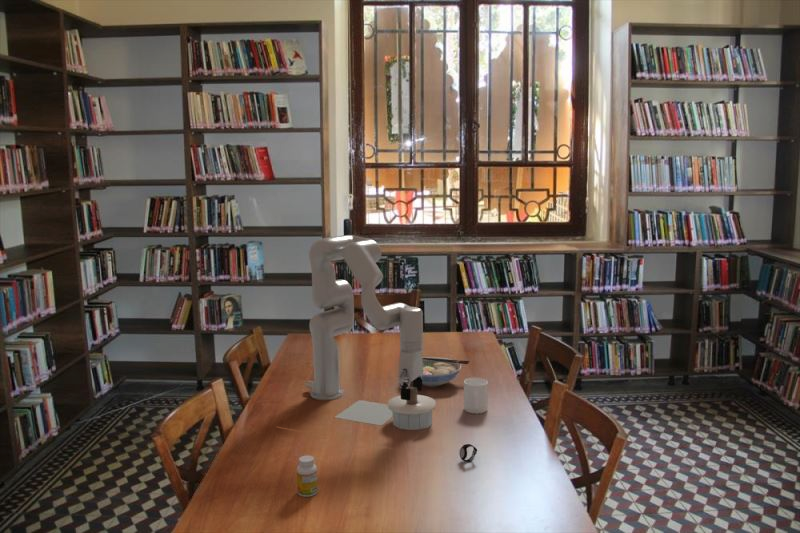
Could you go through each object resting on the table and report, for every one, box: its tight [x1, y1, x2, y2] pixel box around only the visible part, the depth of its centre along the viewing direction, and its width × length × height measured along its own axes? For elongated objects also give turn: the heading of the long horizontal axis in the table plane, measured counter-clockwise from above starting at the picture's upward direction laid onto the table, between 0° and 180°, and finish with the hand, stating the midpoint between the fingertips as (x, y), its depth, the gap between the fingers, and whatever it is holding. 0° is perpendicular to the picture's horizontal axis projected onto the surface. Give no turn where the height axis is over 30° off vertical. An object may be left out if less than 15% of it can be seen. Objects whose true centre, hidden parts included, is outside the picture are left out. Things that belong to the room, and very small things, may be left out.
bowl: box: [391, 410, 433, 431], centre depth 234 cm, size 13×13×6 cm
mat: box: [333, 399, 392, 427], centre depth 244 cm, size 18×18×1 cm
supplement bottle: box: [296, 454, 319, 498], centre depth 188 cm, size 5×5×10 cm
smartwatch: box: [459, 443, 478, 463], centre depth 205 cm, size 4×5×5 cm
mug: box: [463, 377, 489, 415], centre depth 243 cm, size 12×8×10 cm
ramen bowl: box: [422, 356, 470, 388], centre depth 273 cm, size 25×23×8 cm
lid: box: [387, 386, 437, 415], centre depth 234 cm, size 16×16×6 cm
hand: (411, 394), depth 233 cm, fingers open, 9 cm apart
